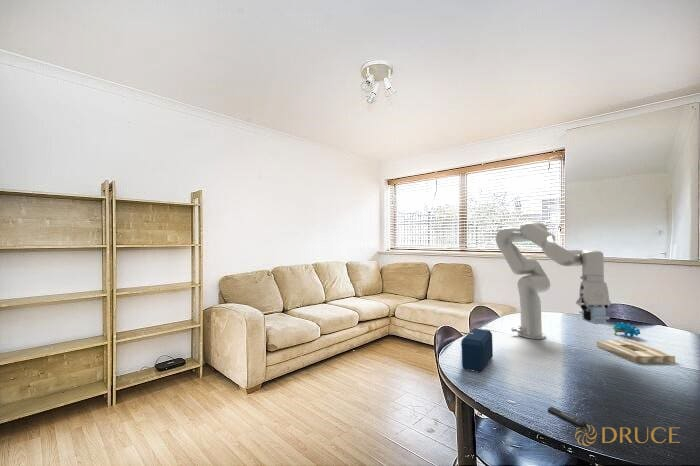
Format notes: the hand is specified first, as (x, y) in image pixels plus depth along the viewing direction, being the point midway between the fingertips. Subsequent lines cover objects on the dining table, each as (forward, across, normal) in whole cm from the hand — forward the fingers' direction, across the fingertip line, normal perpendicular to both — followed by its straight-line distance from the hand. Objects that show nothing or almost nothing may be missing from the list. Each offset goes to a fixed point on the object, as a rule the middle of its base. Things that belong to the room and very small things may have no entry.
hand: (593, 319), depth 137 cm
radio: (+16, -55, -10) cm, 58 cm away
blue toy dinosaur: (+16, +35, +24) cm, 45 cm away
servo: (+1, 0, 0) cm, 1 cm away
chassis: (+15, +16, -1) cm, 22 cm away
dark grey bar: (+15, -46, -50) cm, 69 cm away
